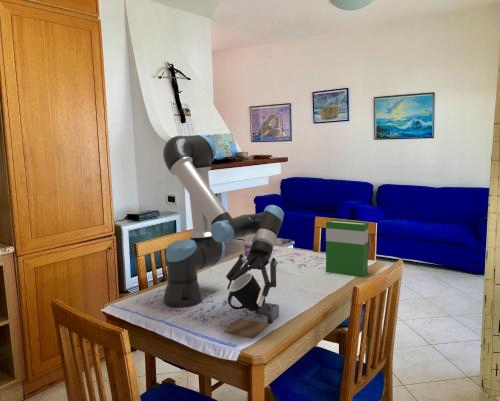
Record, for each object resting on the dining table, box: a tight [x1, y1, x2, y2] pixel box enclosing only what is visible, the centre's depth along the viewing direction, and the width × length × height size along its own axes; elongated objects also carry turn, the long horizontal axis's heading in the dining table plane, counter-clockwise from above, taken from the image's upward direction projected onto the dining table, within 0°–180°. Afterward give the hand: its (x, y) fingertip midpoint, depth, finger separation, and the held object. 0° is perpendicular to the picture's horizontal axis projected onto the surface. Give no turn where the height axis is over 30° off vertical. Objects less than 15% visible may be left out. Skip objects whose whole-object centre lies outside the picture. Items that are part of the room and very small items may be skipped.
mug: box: [227, 272, 266, 312], centre depth 147 cm, size 12×9×10 cm
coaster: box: [223, 317, 269, 339], centre depth 149 cm, size 11×11×1 cm
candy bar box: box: [244, 234, 256, 256], centre depth 237 cm, size 11×5×16 cm, turn 80°
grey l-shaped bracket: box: [254, 302, 280, 324], centre depth 158 cm, size 10×8×6 cm
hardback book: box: [325, 218, 369, 278], centre depth 206 cm, size 18×7×24 cm, turn 60°
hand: (243, 302), depth 145 cm, fingers closed on mug, 11 cm apart
